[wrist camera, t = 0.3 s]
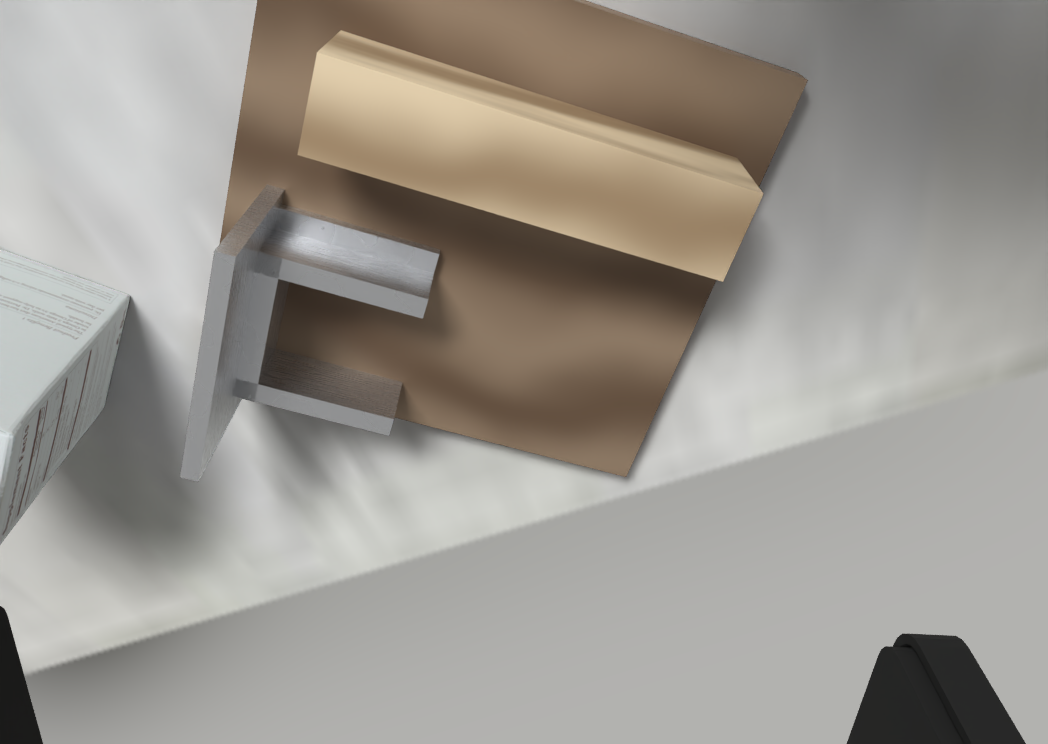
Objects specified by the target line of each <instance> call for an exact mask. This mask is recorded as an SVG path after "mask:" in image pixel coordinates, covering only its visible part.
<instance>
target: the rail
mask: <svg viewBox="0 0 1048 744" xmlns="http://www.w3.org/2000/svg"><path fill="white" fill-rule="evenodd" d="M298 155H300V156H303V157H306V158H310V159H313V160H316V161H320V162H323V163H327V164H330V165H333V166H337V167H340V168H343V169H347V170H350V171H353V172H357V173H360V174H363V175H367V176H370V177H373V178H377V179H380V180H383V181H387V182H390V183H394V184H397V185H400V186H404V187H407V188H410V189H414V190H417V191H420V192H424V193H427V194H430V195H434V196H437V197H440V198H444V199H447V200H450V201H454V202H457V203H461V204H464V205H467V206H471V207H474V208H477V209H481V210H484V211H487V212H491V213H494V214H497V215H501V216H504V217H507V218H511V219H514V220H517V221H521V222H524V223H528V224H531V225H534V226H538V227H541V228H544V229H548V230H551V231H554V232H558V233H561V234H564V235H568V236H571V237H574V238H578V239H581V240H584V241H588V242H591V243H595V244H598V245H601V246H605V247H608V248H611V249H615V250H618V251H621V252H625V253H628V254H631V255H635V256H638V257H641V258H645V259H648V260H651V261H655V262H658V263H662V264H665V265H668V266H672V267H675V268H678V269H682V270H685V271H688V272H692V273H695V274H698V275H702V276H705V277H708V278H712V279H715V280H718V281H722V282H723V281H724V278H725V276H726V274H727V272H728V270H729V268H730V265H731V263H732V261H733V259H734V257H735V255H736V252H737V250H738V248H739V246H740V244H741V242H742V239H743V237H744V235H745V233H746V231H747V229H748V227H749V224H750V222H751V220H752V218H753V216H754V214H755V211H756V209H757V207H758V205H759V203H760V201H761V198H762V196H763V192H762V191H761V190H760V188H759V187H758V186H757V184H756V183H755V181H754V180H753V179H752V177H751V176H750V175H749V173H748V172H747V171H746V169H745V168H744V167H743V165H742V164H741V162H740V161H739V160H738V158H736V157H733V156H730V155H727V154H723V153H720V152H717V151H714V150H711V149H708V148H705V147H702V146H699V145H696V144H692V143H689V142H686V141H683V140H680V139H677V138H674V137H671V136H668V135H664V134H661V133H658V132H655V131H652V130H649V129H646V128H643V127H640V126H637V125H633V124H630V123H627V122H624V121H621V120H618V119H615V118H612V117H609V116H606V115H602V114H599V113H596V112H593V111H590V110H587V109H584V108H581V107H578V106H574V105H571V104H568V103H565V102H562V101H559V100H556V99H553V98H550V97H547V96H543V95H540V94H537V93H534V92H531V91H528V90H525V89H522V88H519V87H515V86H512V85H509V84H506V83H503V82H500V81H497V80H494V79H491V78H488V77H484V76H481V75H478V74H475V73H472V72H469V71H466V70H463V69H460V68H457V67H453V66H450V65H447V64H444V63H441V62H438V61H435V60H432V59H429V58H425V57H422V56H419V55H416V54H413V53H410V52H407V51H404V50H401V49H398V48H394V47H391V46H388V45H385V44H382V43H379V42H376V41H373V40H370V39H367V38H363V37H360V36H357V35H354V34H351V33H348V32H345V31H342V30H341V31H340V32H338V33H337V34H336V35H335V36H334V37H333V38H332V39H331V40H330V41H329V42H328V43H327V44H325V45H324V46H323V47H322V48H321V49H320V50H319V51H318V52H317V55H316V60H315V65H314V71H313V76H312V81H311V86H310V92H309V97H308V102H307V107H306V113H305V118H304V123H303V128H302V134H301V139H300V144H299V149H298Z"/></svg>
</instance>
